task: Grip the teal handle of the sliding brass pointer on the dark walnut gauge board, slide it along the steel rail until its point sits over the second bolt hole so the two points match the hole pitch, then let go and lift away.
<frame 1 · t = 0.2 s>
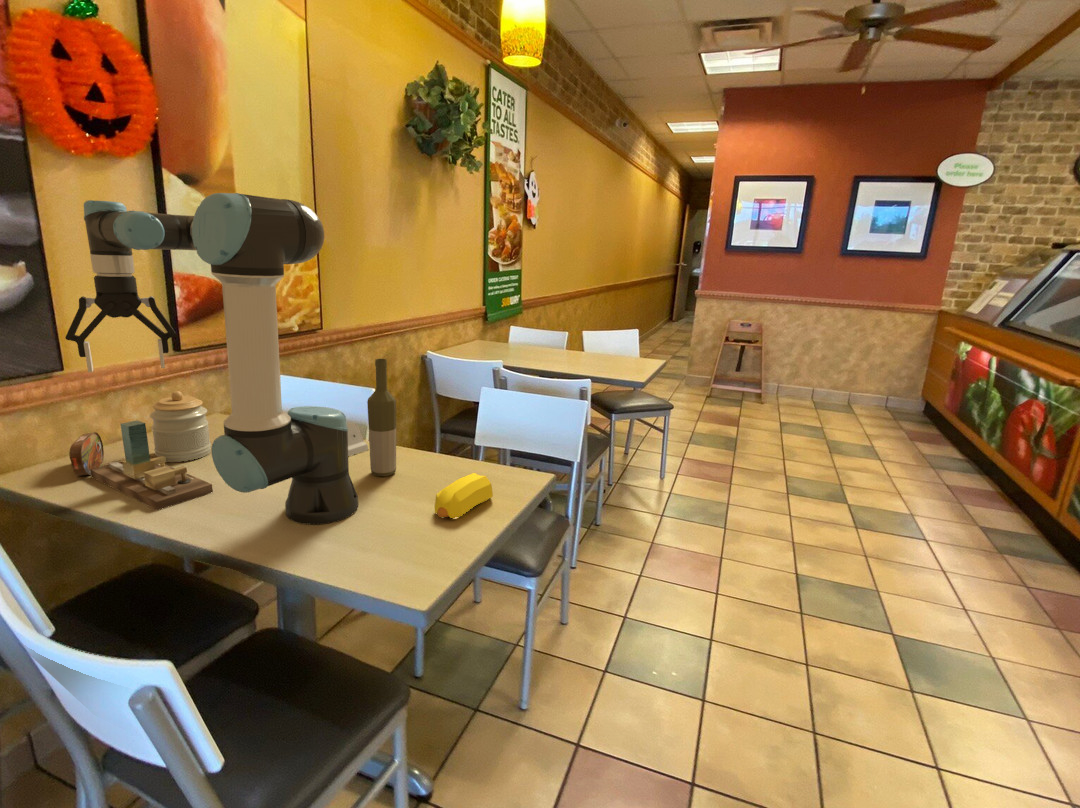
hand: (128, 369, 132), 27 cm above the table, tool pointing down, fingers open, 13 cm apart
tin: (89, 470, 143), on the table
jar: (184, 455, 155), on the table
slider: (144, 448, 133), point 9 cm above the table, slide at 9.0 cm
gauge board: (151, 484, 136), on the table
bottle: (383, 474, 149), on the table
hinge: (337, 455, 161), on the table
yellow rounded bar: (464, 508, 133), on the table
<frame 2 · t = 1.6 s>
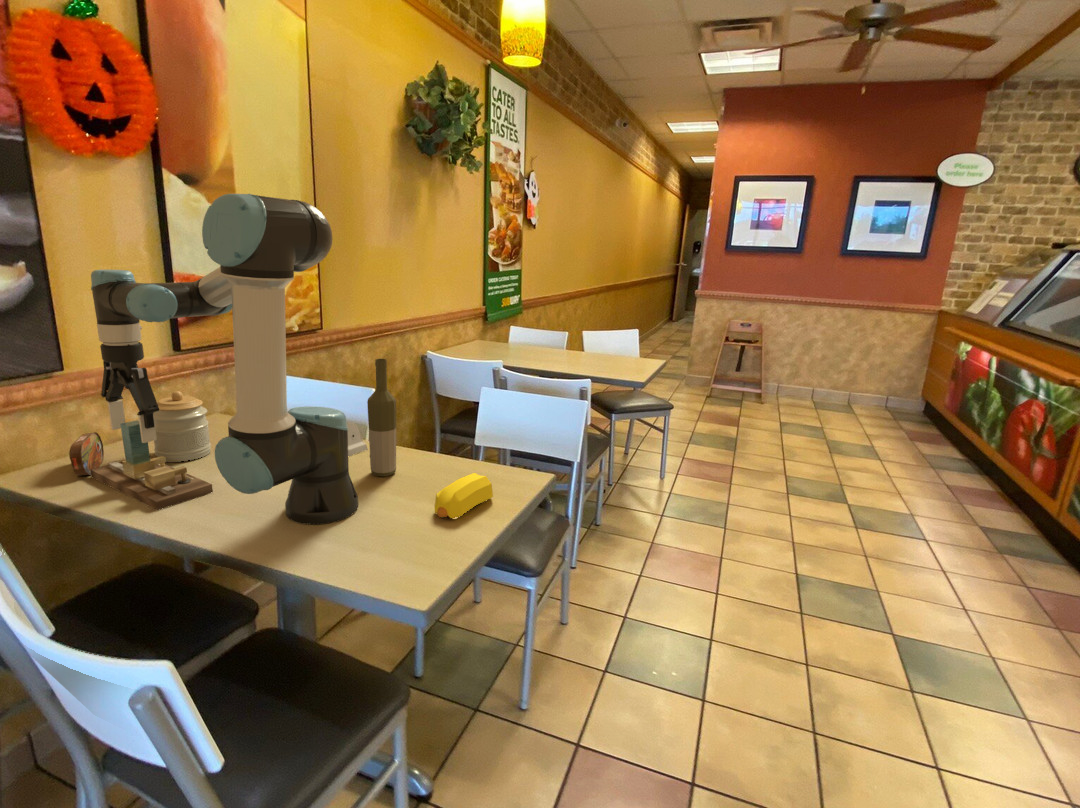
hand: (133, 434, 131), 13 cm above the table, tool pointing down, fingers open, 13 cm apart
nothing on the table moved.
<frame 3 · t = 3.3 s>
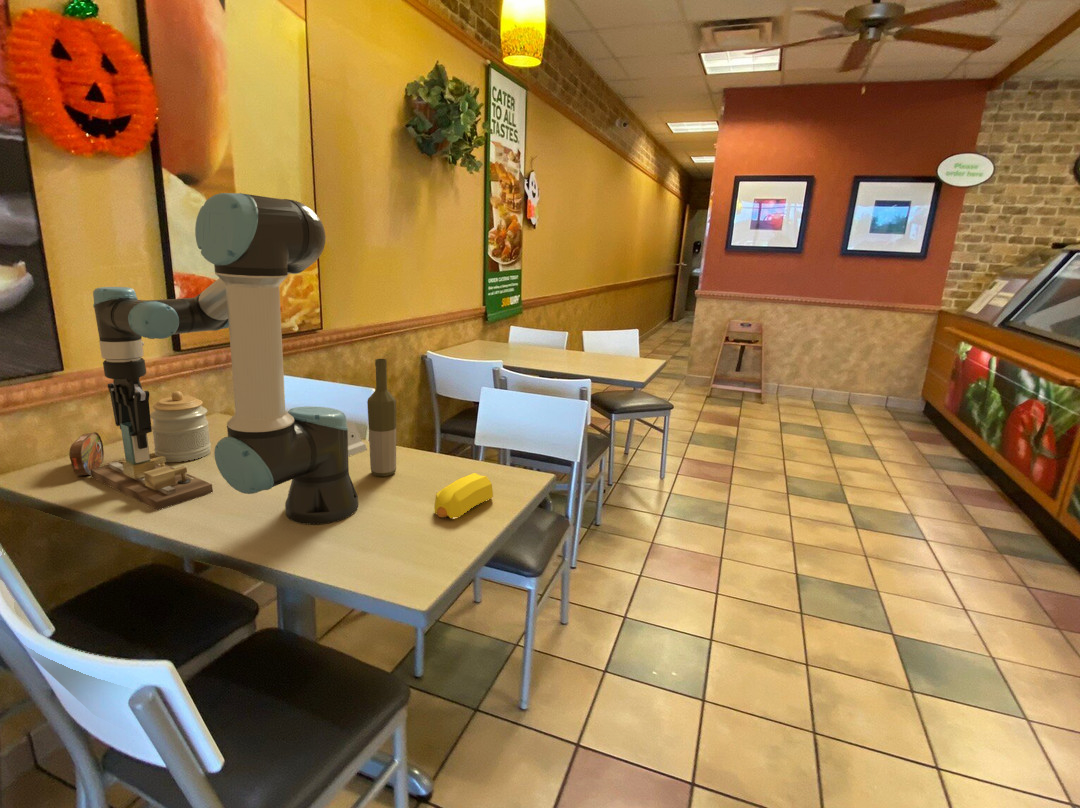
hand: (137, 458, 132), 7 cm above the table, tool pointing down, fingers closed on slider, 3 cm apart
slider: (144, 448, 133), point 9 cm above the table, slide at 9.0 cm, touching gripper
everything else where it was.
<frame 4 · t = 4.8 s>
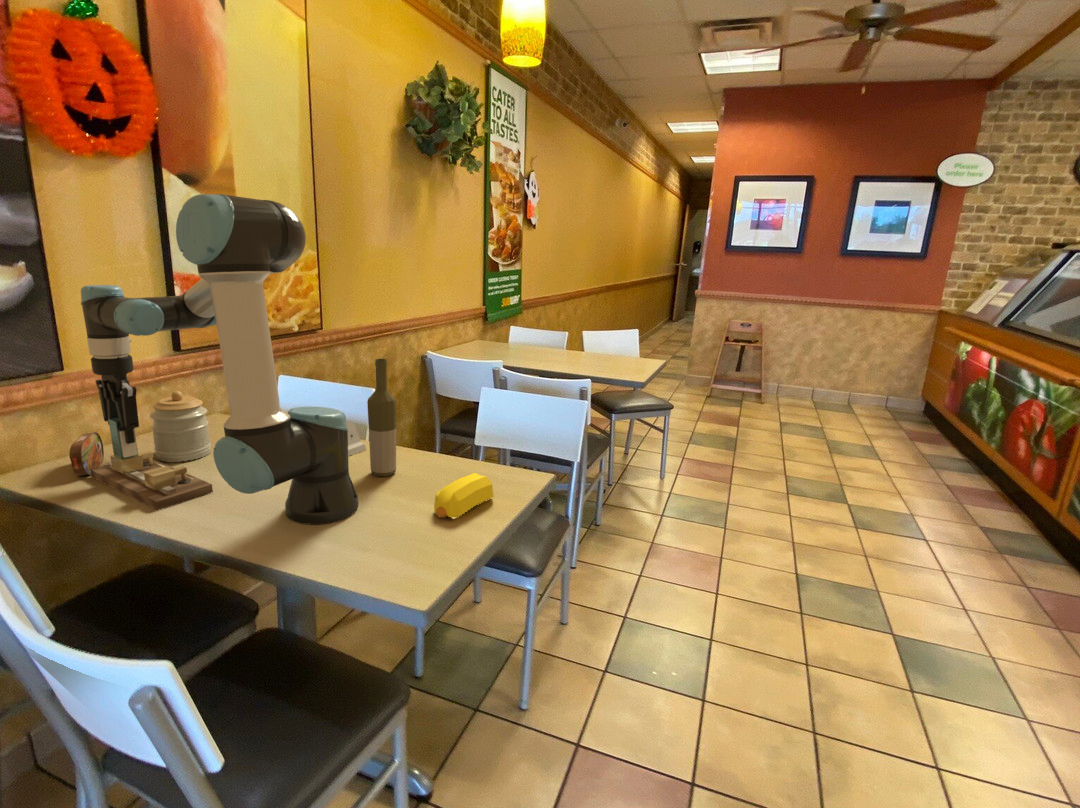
hand: (125, 453, 135), 7 cm above the table, tool pointing down, fingers closed on slider, 3 cm apart
slider: (132, 443, 136), point 9 cm above the table, slide at 14.5 cm, touching gripper
everything else where it was.
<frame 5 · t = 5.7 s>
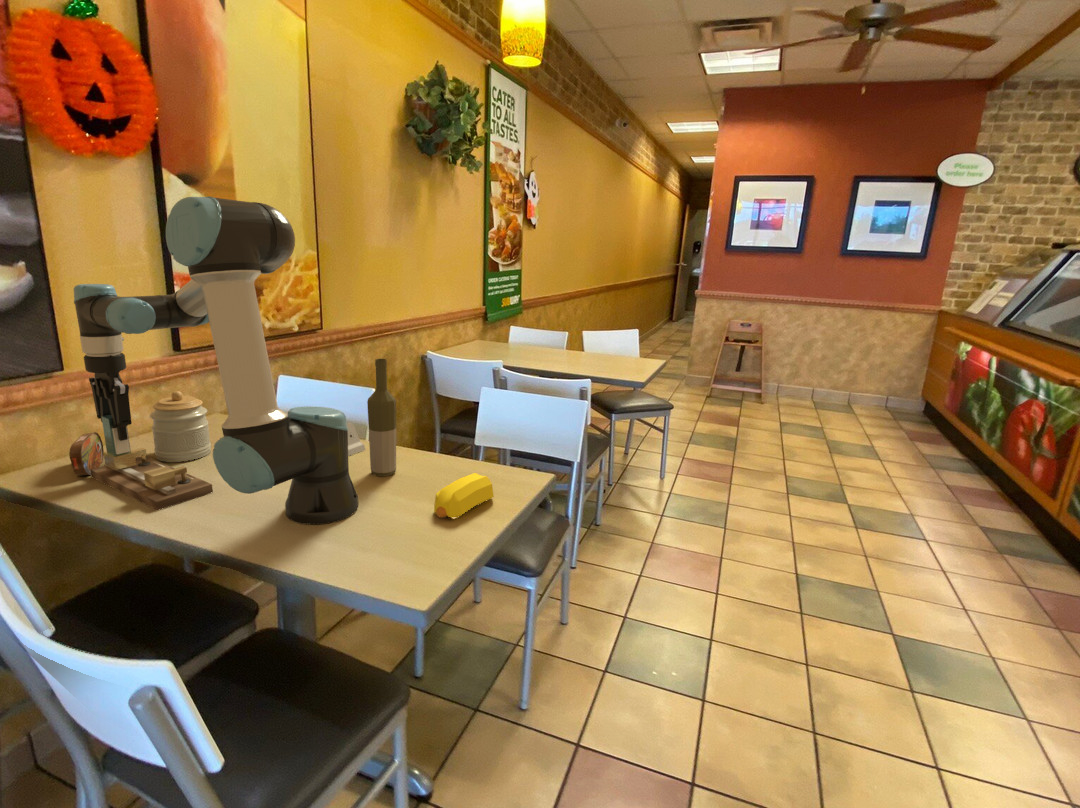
hand: (118, 450, 137), 7 cm above the table, tool pointing down, fingers closed on slider, 3 cm apart
slider: (125, 440, 138), point 9 cm above the table, slide at 17.9 cm, touching gripper
everything else where it was.
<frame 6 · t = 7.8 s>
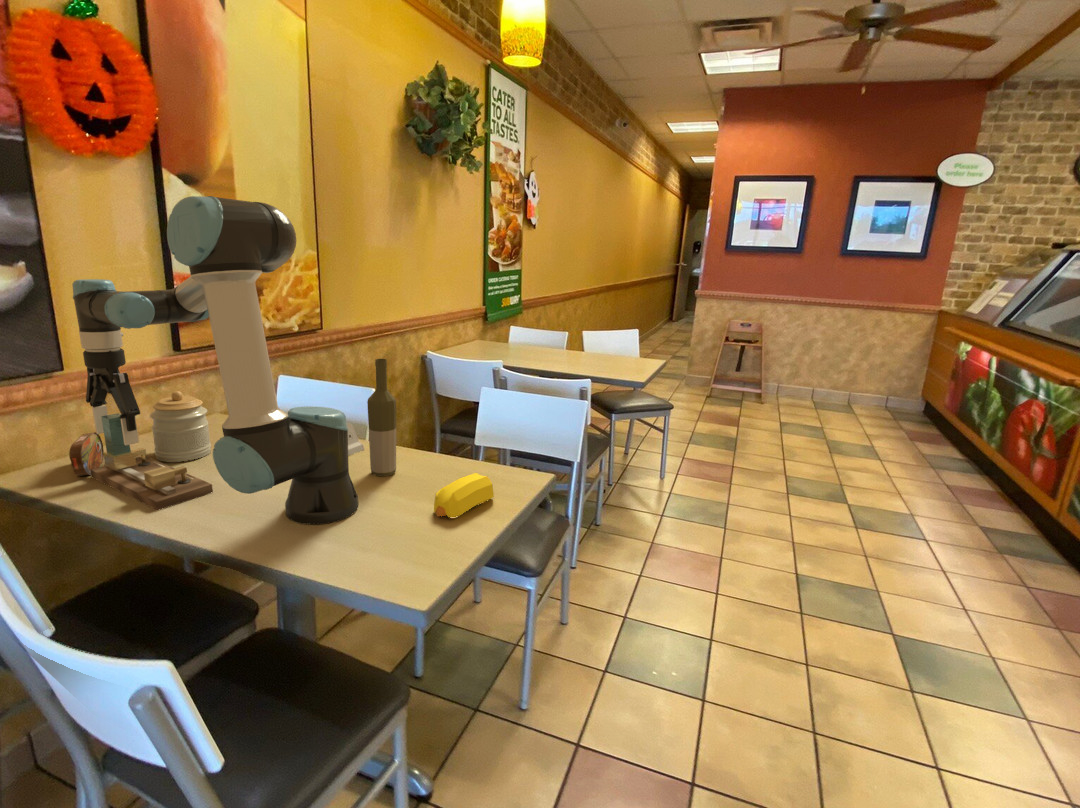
hand: (117, 438, 136), 10 cm above the table, tool pointing down, fingers open, 13 cm apart
slider: (125, 440, 138), point 9 cm above the table, slide at 18.0 cm
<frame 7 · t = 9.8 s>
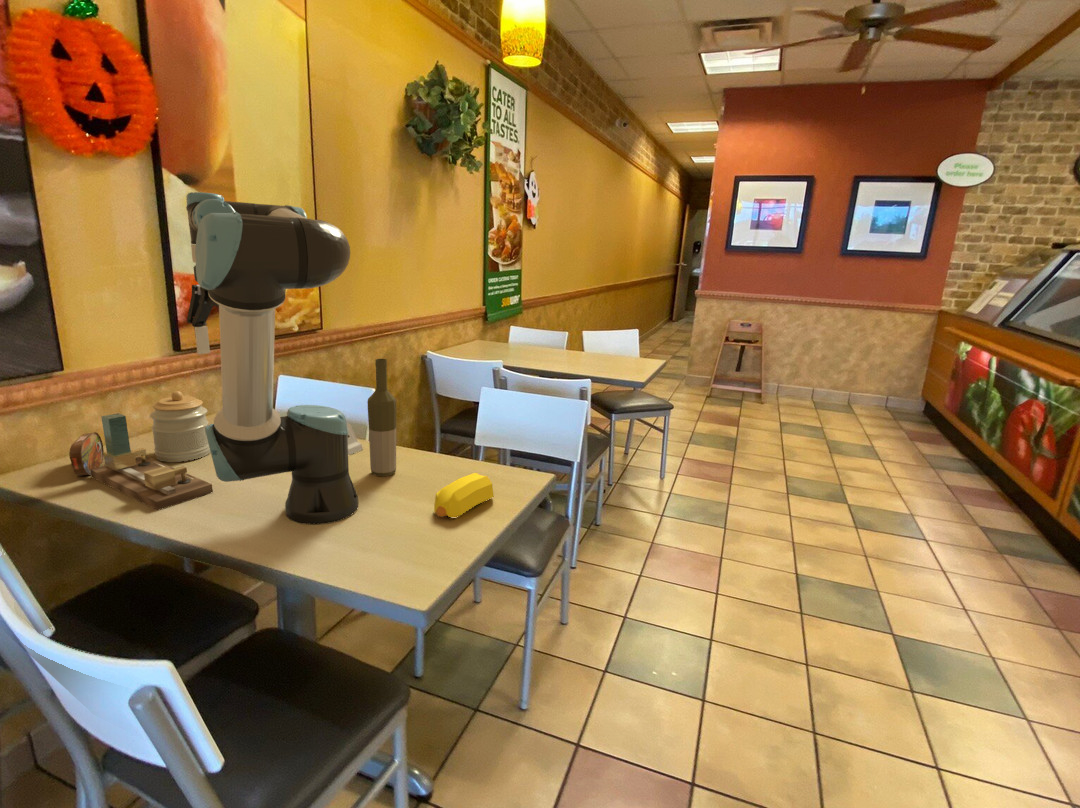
hand: (221, 356, 137), 30 cm above the table, tool pointing down, fingers open, 13 cm apart
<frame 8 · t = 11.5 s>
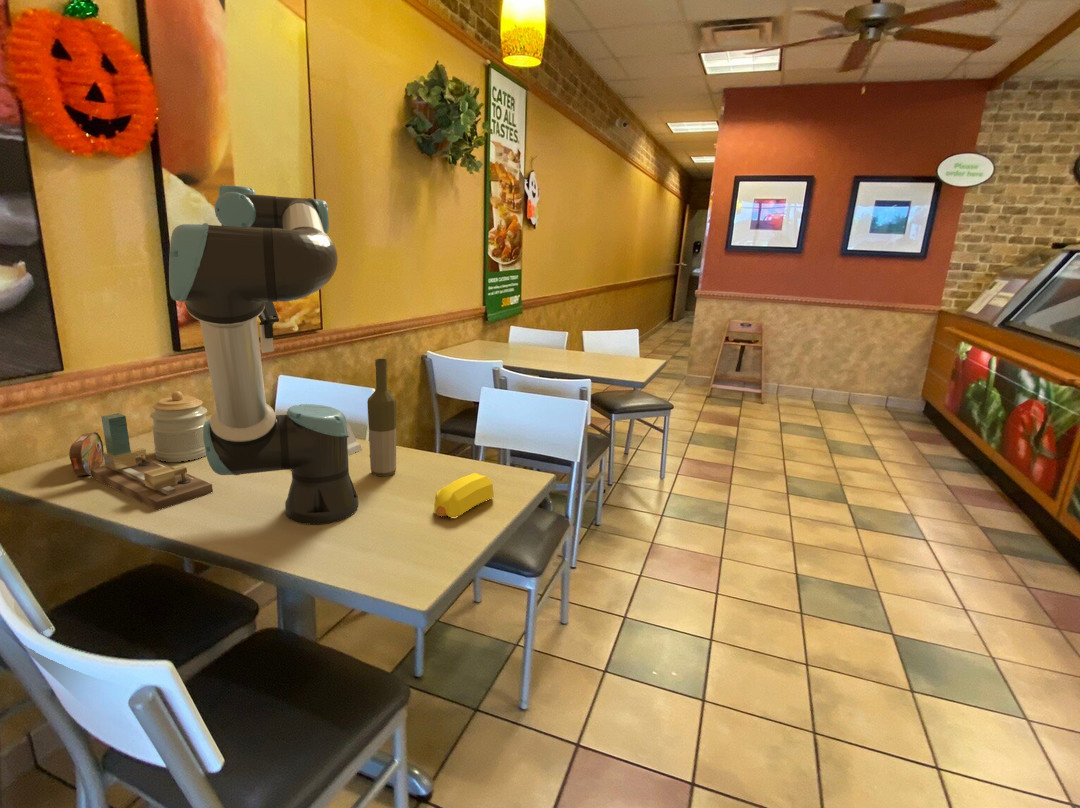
hand: (250, 348, 138), 32 cm above the table, tool pointing down, fingers open, 13 cm apart
at the end: slider slide at 18.0 cm; the gripper is holding nothing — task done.
